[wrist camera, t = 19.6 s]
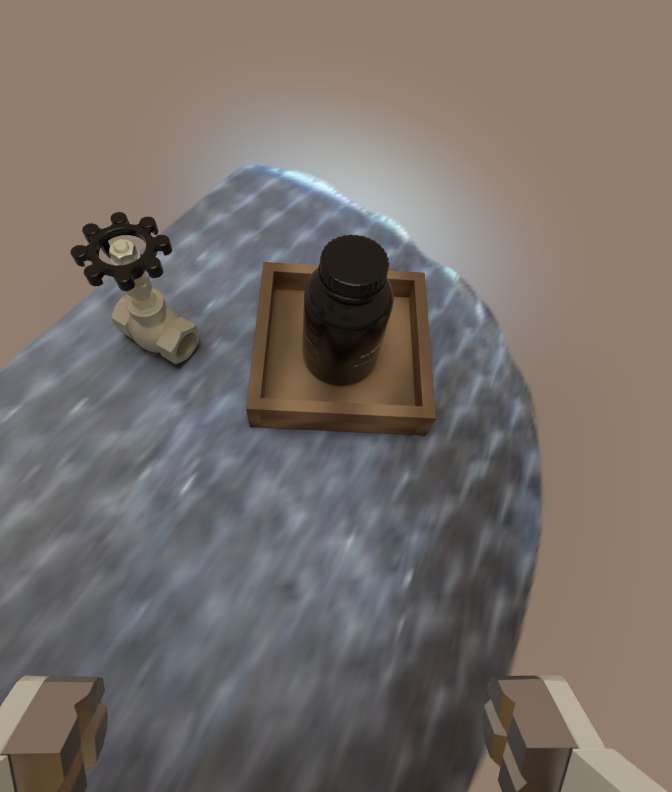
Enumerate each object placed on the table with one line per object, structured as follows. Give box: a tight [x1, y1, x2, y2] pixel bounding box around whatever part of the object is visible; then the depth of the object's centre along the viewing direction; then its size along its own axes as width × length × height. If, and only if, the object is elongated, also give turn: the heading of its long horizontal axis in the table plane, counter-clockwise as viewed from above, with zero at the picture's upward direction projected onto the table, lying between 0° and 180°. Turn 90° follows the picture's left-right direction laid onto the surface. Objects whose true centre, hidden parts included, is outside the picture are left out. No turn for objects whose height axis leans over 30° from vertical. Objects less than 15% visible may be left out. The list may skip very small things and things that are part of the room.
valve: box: [71, 212, 199, 364], centre depth 40 cm, size 7×7×12 cm
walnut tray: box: [246, 262, 436, 435], centre depth 44 cm, size 15×15×4 cm
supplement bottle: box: [302, 235, 394, 384], centre depth 39 cm, size 7×7×12 cm
